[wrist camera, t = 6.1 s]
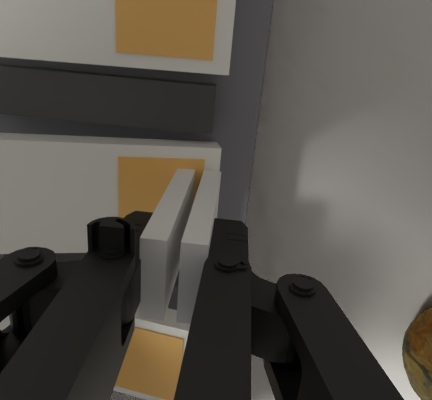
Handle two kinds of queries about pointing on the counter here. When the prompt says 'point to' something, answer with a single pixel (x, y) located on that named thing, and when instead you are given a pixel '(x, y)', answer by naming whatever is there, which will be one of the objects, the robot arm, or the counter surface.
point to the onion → (419, 354)
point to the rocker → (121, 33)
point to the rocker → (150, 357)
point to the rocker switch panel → (151, 105)
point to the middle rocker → (85, 183)
